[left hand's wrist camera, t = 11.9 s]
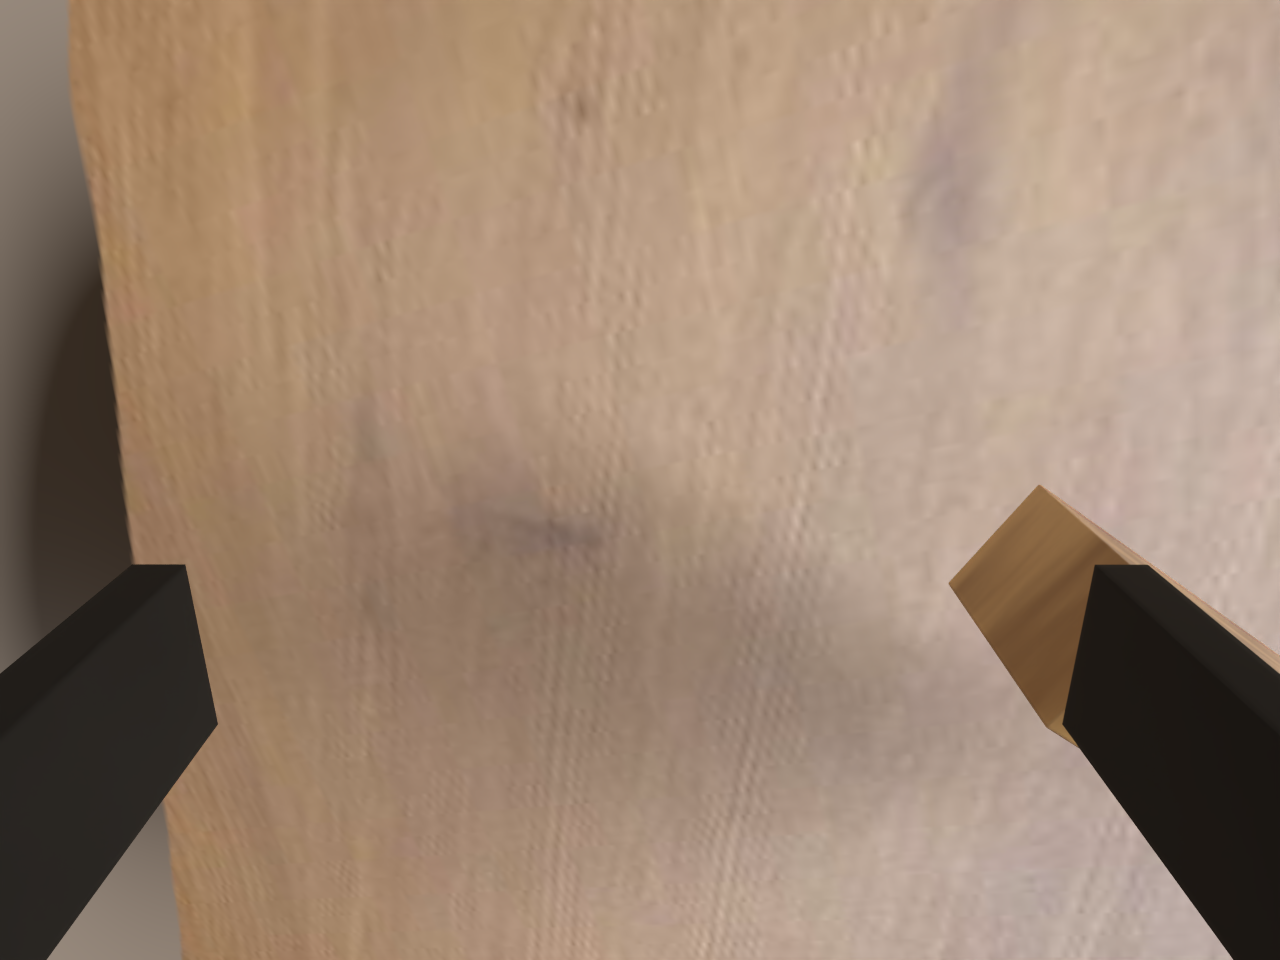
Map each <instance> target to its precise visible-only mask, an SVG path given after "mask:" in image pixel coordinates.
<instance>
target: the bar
mask: <svg viewBox="0 0 1280 960" xmlns="http://www.w3.org/2000/svg"><path fill="white" fill-rule="evenodd" d="M1095 565H1149V566H1150V567H1151V568H1153V569H1154V570H1155V571H1156V572H1157V573H1159V574H1160V575H1161V576H1162V577H1163V578H1165V579H1166V580H1167V581H1168V582H1169V583H1171V584H1172V585H1173V586H1174V587H1176V588H1177V589H1178V590H1179V591H1180V592H1182V593H1183V594H1184V595H1185V596H1186V597H1188V598H1189V599H1190V600H1191V601H1192V602H1194V603H1195V604H1196V605H1197V606H1198V607H1200V608H1201V609H1202V610H1203V611H1205V612H1206V613H1207V614H1208V615H1209V616H1211V617H1212V618H1213V619H1214V620H1215V621H1217V622H1218V623H1219V624H1220V625H1221V626H1223V627H1224V628H1225V629H1226V630H1227V631H1229V632H1230V633H1231V634H1232V635H1234V636H1235V637H1236V638H1237V639H1238V640H1240V641H1241V642H1242V643H1243V644H1244V645H1246V646H1247V647H1248V648H1249V649H1250V650H1252V651H1253V652H1254V653H1255V654H1256V655H1258V656H1259V657H1260V658H1261V659H1263V660H1264V661H1265V662H1266V663H1267V664H1269V665H1270V666H1271V667H1272V668H1273V669H1275V670H1276V671H1277V672H1278V673H1279V674H1280V656H1279V655H1278V654H1277V653H1275V652H1274V651H1272V650H1271V649H1270V648H1268V647H1267V646H1265V645H1264V644H1263V643H1261V642H1260V641H1258V640H1257V639H1256V638H1254V637H1253V636H1251V635H1250V634H1249V633H1247V632H1246V631H1244V630H1243V629H1242V628H1240V627H1239V626H1237V625H1236V624H1235V623H1233V622H1232V621H1230V620H1229V619H1228V618H1226V617H1225V616H1223V615H1222V614H1221V613H1219V612H1218V611H1216V610H1215V609H1214V608H1212V607H1211V606H1209V605H1208V604H1207V603H1205V602H1204V601H1202V600H1201V599H1200V598H1198V597H1197V596H1195V595H1194V594H1193V593H1191V592H1190V591H1188V590H1187V589H1186V588H1184V587H1183V586H1181V585H1180V584H1179V583H1177V582H1176V581H1174V580H1173V579H1172V578H1170V577H1169V576H1167V575H1166V574H1165V573H1163V572H1162V571H1160V570H1159V569H1158V568H1156V567H1155V566H1153V565H1152V564H1151V563H1149V562H1148V561H1146V560H1145V559H1144V558H1142V557H1141V556H1139V555H1138V554H1137V553H1135V552H1134V551H1132V550H1131V549H1130V548H1128V547H1127V546H1125V545H1124V544H1123V543H1121V542H1120V541H1118V540H1117V539H1116V538H1114V537H1113V536H1111V535H1110V534H1109V533H1107V532H1106V531H1104V530H1103V529H1102V528H1100V527H1099V526H1097V525H1096V524H1095V523H1093V522H1092V521H1090V520H1089V519H1088V518H1086V517H1085V516H1083V515H1082V514H1081V513H1079V512H1078V511H1076V510H1075V509H1074V508H1072V507H1071V506H1069V505H1068V504H1067V503H1065V502H1064V501H1062V500H1061V499H1060V498H1058V497H1057V496H1055V495H1054V494H1053V493H1051V492H1050V491H1048V490H1047V489H1046V488H1044V487H1043V486H1041V485H1038V486H1037V487H1036V488H1035V489H1034V490H1033V491H1032V493H1031V494H1030V495H1029V496H1028V497H1027V498H1026V499H1025V500H1024V501H1023V502H1022V503H1021V505H1020V506H1019V507H1018V508H1017V509H1016V510H1015V511H1014V512H1013V513H1012V514H1011V515H1010V517H1009V518H1008V519H1007V520H1006V521H1005V522H1004V523H1003V524H1002V525H1001V526H1000V527H999V529H998V530H997V531H996V532H995V533H994V534H993V535H992V536H991V537H990V538H989V539H988V541H987V542H986V543H985V544H984V545H983V546H982V547H981V548H980V549H979V550H978V551H977V553H976V554H975V555H974V556H973V557H972V558H971V559H970V560H969V561H968V562H967V563H966V565H965V566H964V567H963V568H962V569H961V570H960V571H959V572H958V573H957V574H956V576H955V577H954V578H953V579H952V580H951V581H950V582H949V585H950V587H951V588H952V590H953V591H954V593H955V594H956V596H957V597H958V598H959V600H960V601H961V603H962V604H963V606H964V607H965V609H966V610H967V612H968V613H969V615H970V616H971V618H972V619H973V620H974V622H975V623H976V625H977V626H978V628H979V629H980V631H981V632H982V634H983V635H984V637H985V638H986V640H987V641H988V642H989V644H990V645H991V647H992V648H993V650H994V651H995V653H996V654H997V656H998V657H999V659H1000V660H1001V662H1002V663H1003V664H1004V666H1005V667H1006V669H1007V670H1008V672H1009V673H1010V675H1011V676H1012V678H1013V679H1014V681H1015V682H1016V684H1017V685H1018V687H1019V688H1020V689H1021V691H1022V692H1023V694H1024V695H1025V697H1026V698H1027V700H1028V701H1029V703H1030V704H1031V706H1032V707H1033V709H1034V710H1035V711H1036V713H1037V714H1038V716H1039V717H1040V719H1041V720H1042V722H1043V723H1044V725H1045V726H1046V727H1047V728H1048V729H1050V730H1051V731H1053V732H1054V733H1056V734H1058V735H1059V736H1061V737H1062V738H1064V739H1065V740H1067V741H1069V742H1070V743H1072V744H1073V745H1075V746H1076V747H1078V745H1077V744H1076V743H1075V741H1074V740H1073V738H1072V737H1071V736H1070V734H1069V733H1068V732H1067V730H1066V729H1065V727H1064V726H1063V725H1062V722H1063V718H1064V713H1065V708H1066V703H1067V698H1068V693H1069V688H1070V683H1071V678H1072V674H1073V669H1074V664H1075V659H1076V654H1077V649H1078V644H1079V639H1080V634H1081V630H1082V625H1083V620H1084V615H1085V610H1086V605H1087V600H1088V595H1089V590H1090V586H1091V581H1092V576H1093V571H1094V566H1095ZM1078 748H1079V747H1078Z"/></svg>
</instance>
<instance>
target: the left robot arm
mask: <svg viewBox="0 0 1280 960" xmlns="http://www.w3.org/2000/svg"><path fill="white" fill-rule="evenodd" d="M217 725H218V722H217V718H216V713H215V708H214V703H213V698H212V693H211V688H210V683H209V678H208V674H207V669H206V664H205V659H204V654H203V649H202V644H201V639H200V634H199V630H198V625H197V620H196V615H195V610H194V605H193V600H192V595H191V590H190V586H189V581H188V576H187V571H186V566H185V565H131V566H130V567H129V568H127V569H126V570H125V571H124V572H123V573H121V574H120V575H119V576H118V577H117V578H115V579H114V580H113V581H112V582H111V583H109V584H108V585H107V586H106V587H104V588H103V589H102V590H101V591H100V592H98V593H97V594H96V595H95V596H94V597H92V598H91V599H90V600H89V601H88V602H86V603H85V604H84V605H83V606H82V607H80V608H79V609H78V610H77V611H75V612H74V613H73V614H72V615H71V616H69V617H68V618H67V619H66V620H65V621H63V622H62V623H61V624H60V625H59V626H57V627H56V628H55V629H54V630H53V631H51V632H50V633H49V634H48V635H46V636H45V637H44V638H43V639H42V640H40V641H39V642H38V643H37V644H36V645H34V646H33V647H32V648H31V649H30V650H28V651H27V652H26V653H25V654H24V655H22V656H21V657H20V658H19V659H17V660H16V661H15V662H14V663H13V664H11V665H10V666H9V667H8V668H7V669H5V670H4V671H3V672H2V673H1V674H0V960H47V958H48V957H49V955H50V954H51V953H52V951H53V950H54V949H55V947H56V946H57V944H58V943H59V942H60V940H61V939H62V938H63V936H64V935H65V934H66V932H67V931H68V929H69V928H70V927H71V925H72V924H73V923H74V921H75V920H76V918H77V917H78V916H79V914H80V913H81V912H82V910H83V909H84V907H85V906H86V905H87V903H88V902H89V900H90V899H91V898H92V896H93V895H94V894H95V892H96V891H97V890H98V888H99V887H100V885H101V884H102V883H103V881H104V880H105V879H106V877H107V876H108V874H109V873H110V872H111V870H112V869H113V868H114V866H115V865H116V863H117V862H118V861H119V859H120V858H121V857H122V855H123V854H124V852H125V851H126V850H127V848H128V847H129V846H130V844H131V843H132V841H133V840H134V839H135V837H136V836H137V835H138V833H139V832H140V831H141V829H142V828H143V826H144V825H145V824H146V822H147V821H148V819H149V818H150V817H151V815H152V814H153V813H154V811H155V810H156V809H157V807H158V806H159V804H160V803H161V802H162V800H163V799H164V798H165V796H166V795H167V793H168V792H169V791H170V789H171V788H172V787H173V785H174V784H175V782H176V781H177V780H178V778H179V777H180V776H181V774H182V773H183V771H184V770H185V769H186V767H187V766H188V765H189V763H190V762H191V760H192V759H193V758H194V756H195V755H196V754H197V752H198V751H199V749H200V748H201V747H202V745H203V744H204V743H205V741H206V740H207V738H208V737H209V736H210V734H211V733H212V732H213V730H214V729H215V727H216V726H217ZM1062 725H1063V726H1064V727H1065V729H1066V730H1067V732H1068V733H1069V734H1070V736H1071V737H1072V738H1073V740H1074V741H1075V743H1076V744H1077V745H1078V747H1079V748H1080V749H1081V751H1082V752H1083V754H1084V755H1085V756H1086V758H1087V759H1088V760H1089V762H1090V763H1091V765H1092V766H1093V767H1094V769H1095V770H1096V771H1097V773H1098V774H1099V776H1100V777H1101V778H1102V780H1103V781H1104V782H1105V784H1106V785H1107V787H1108V788H1109V789H1110V791H1111V792H1112V793H1113V795H1114V796H1115V798H1116V799H1117V800H1118V802H1119V803H1120V804H1121V806H1122V807H1123V809H1124V810H1125V811H1126V813H1127V814H1128V815H1129V817H1130V818H1131V820H1132V821H1133V822H1134V824H1135V825H1136V826H1137V828H1138V829H1139V831H1140V832H1141V833H1142V835H1143V836H1144V837H1145V839H1146V840H1147V842H1148V843H1149V844H1150V846H1151V847H1152V848H1153V850H1154V851H1155V853H1156V854H1157V855H1158V857H1159V858H1160V859H1161V861H1162V862H1163V863H1164V865H1165V866H1166V868H1167V869H1168V870H1169V872H1170V873H1171V874H1172V876H1173V877H1174V879H1175V880H1176V881H1177V883H1178V884H1179V885H1180V887H1181V888H1182V890H1183V891H1184V892H1185V894H1186V895H1187V896H1188V898H1189V899H1190V901H1191V902H1192V903H1193V905H1194V906H1195V907H1196V909H1197V910H1198V912H1199V913H1200V914H1201V916H1202V917H1203V918H1204V920H1205V921H1206V923H1207V924H1208V925H1209V927H1210V928H1211V929H1212V931H1213V932H1214V934H1215V935H1216V936H1217V938H1218V939H1219V940H1220V942H1221V943H1222V945H1223V946H1224V947H1225V949H1226V950H1227V951H1228V953H1229V954H1230V956H1231V957H1232V958H1233V960H1280V674H1279V673H1278V672H1277V671H1276V670H1275V669H1273V668H1272V667H1271V666H1270V665H1269V664H1267V663H1266V662H1265V661H1264V660H1263V659H1261V658H1260V657H1259V656H1258V655H1256V654H1255V653H1254V652H1253V651H1252V650H1250V649H1249V648H1248V647H1247V646H1246V645H1244V644H1243V643H1242V642H1241V641H1240V640H1238V639H1237V638H1236V637H1235V636H1234V635H1232V634H1231V633H1230V632H1229V631H1227V630H1226V629H1225V628H1224V627H1223V626H1221V625H1220V624H1219V623H1218V622H1217V621H1215V620H1214V619H1213V618H1212V617H1211V616H1209V615H1208V614H1207V613H1206V612H1205V611H1203V610H1202V609H1201V608H1200V607H1198V606H1197V605H1196V604H1195V603H1194V602H1192V601H1191V600H1190V599H1189V598H1188V597H1186V596H1185V595H1184V594H1183V593H1182V592H1180V591H1179V590H1178V589H1177V588H1176V587H1174V586H1173V585H1172V584H1171V583H1169V582H1168V581H1167V580H1166V579H1165V578H1163V577H1162V576H1161V575H1160V574H1159V573H1157V572H1156V571H1155V570H1154V569H1153V568H1151V567H1150V566H1149V565H1095V566H1094V571H1093V576H1092V581H1091V586H1090V590H1089V595H1088V600H1087V605H1086V610H1085V615H1084V620H1083V625H1082V630H1081V634H1080V639H1079V644H1078V649H1077V654H1076V659H1075V664H1074V669H1073V674H1072V678H1071V683H1070V688H1069V693H1068V698H1067V703H1066V708H1065V713H1064V718H1063V722H1062Z"/></svg>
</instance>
